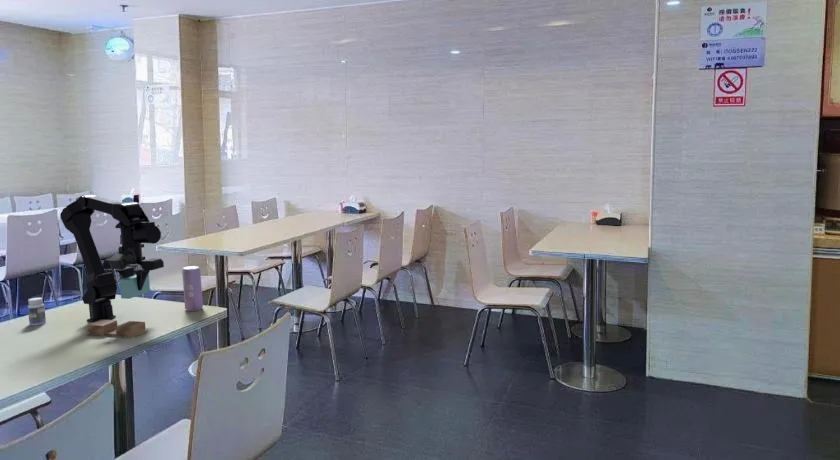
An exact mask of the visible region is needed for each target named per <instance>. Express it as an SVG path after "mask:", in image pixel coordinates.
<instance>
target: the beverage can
mask: <svg viewBox="0 0 840 460" xmlns="http://www.w3.org/2000/svg"><path fill="white" fill-rule="evenodd" d="M181 274H182V284H183V285H182V288H183V299H184V300H183V302H184V309H185V310H186V311H187V312H196V311H200V310H202V309H203V307H204V304H203V303H204V302H203V291H202V290H203V287H202V277H201V276H202V275H201V269H200V266H198V265H188V266H184V267H182V269H181Z"/></svg>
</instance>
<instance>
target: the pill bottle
mask: <svg viewBox="0 0 840 460" xmlns="http://www.w3.org/2000/svg"><path fill="white" fill-rule="evenodd" d="M27 301H28V302H27V303H28V305H27V312H28V313H27V314H28V322H29V325H30V326H40V325H44V324H46V323H47V319H46V318H47V317H46V310H45V304H44V301H43V297H32V298H28V300H27Z"/></svg>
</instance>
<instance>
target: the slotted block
mask: <svg viewBox="0 0 840 460" xmlns="http://www.w3.org/2000/svg"><path fill="white" fill-rule="evenodd" d="M86 327H87V335H88V336H100V337H113V338H114V337H117V338H129V339H130V338H131V339H133V338H135V337H137V336H141V335H143V334H145V333H146V321H137V320H136V321H135V320H128V321H126V322H123V323H121V324H118V320H115V319H109V320H99V321H96V322H95V321H93V322H91V323H89V324H87V326H86Z"/></svg>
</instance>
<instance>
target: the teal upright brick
mask: <svg viewBox="0 0 840 460" xmlns="http://www.w3.org/2000/svg"><path fill="white" fill-rule="evenodd" d="M149 274H150V272H149V273H148V275H147V277H146V280H145V282H144V285H143V287H142V290H140V291H139V290H138V286H137V276H136V274H134V275H133V276H130V277H127V278H121V279H119V290H120V291H119V292H120V299H123V300H124V299H127V300H130V299H132V298H135V297H138V296H141V295H144V294H147V293H150V292H151V289H150V288H151V287H150V286H151V285H150V284H151V283H150V275H149Z"/></svg>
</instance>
